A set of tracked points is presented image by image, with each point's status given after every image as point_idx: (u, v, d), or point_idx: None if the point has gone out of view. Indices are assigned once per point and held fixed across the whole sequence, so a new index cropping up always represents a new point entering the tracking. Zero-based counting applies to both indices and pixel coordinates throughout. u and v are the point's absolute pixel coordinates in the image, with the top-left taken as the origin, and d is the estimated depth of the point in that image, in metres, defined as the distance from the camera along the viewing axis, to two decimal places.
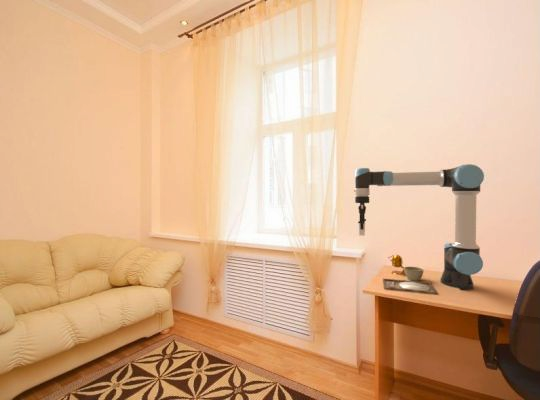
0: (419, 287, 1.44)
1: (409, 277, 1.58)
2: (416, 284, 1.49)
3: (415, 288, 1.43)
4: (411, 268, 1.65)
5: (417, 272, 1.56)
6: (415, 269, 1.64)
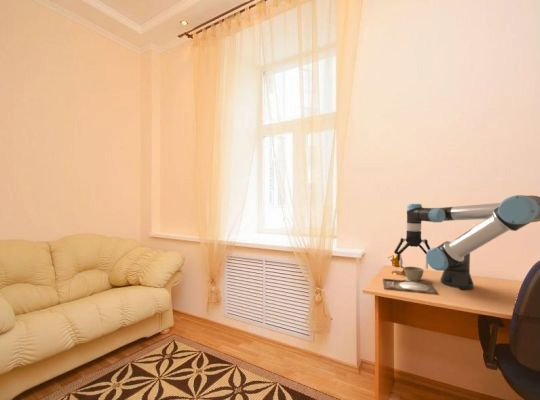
0: (419, 287, 1.44)
1: (409, 277, 1.58)
2: (416, 284, 1.49)
3: (415, 288, 1.43)
4: (411, 268, 1.65)
5: (417, 272, 1.56)
6: (415, 269, 1.64)
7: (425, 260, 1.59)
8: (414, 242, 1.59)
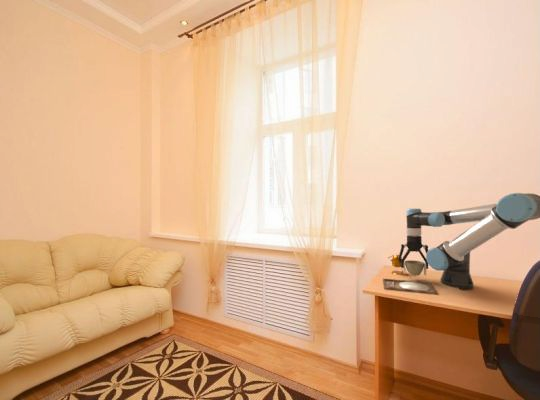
0: (419, 287, 1.44)
1: (410, 270, 1.58)
2: (416, 284, 1.49)
3: (415, 288, 1.43)
4: (412, 262, 1.64)
5: (417, 265, 1.55)
6: (416, 263, 1.64)
7: None
8: (415, 247, 1.59)
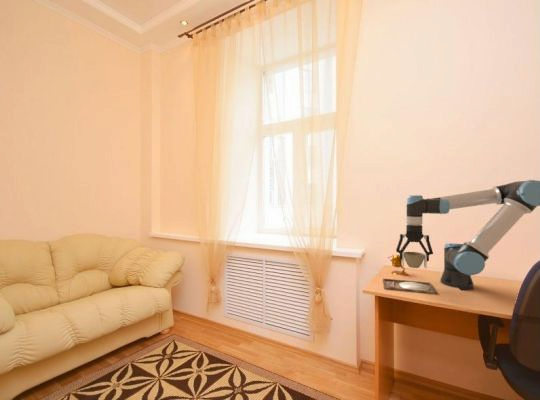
0: (419, 287, 1.44)
1: (409, 262, 1.45)
2: (416, 284, 1.49)
3: (415, 288, 1.43)
4: (411, 253, 1.51)
5: (417, 257, 1.42)
6: (415, 255, 1.50)
7: (424, 259, 1.46)
8: (415, 237, 1.45)
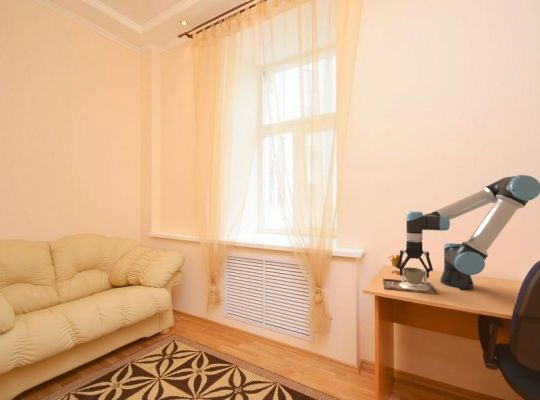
0: (419, 287, 1.44)
1: (409, 279, 1.45)
2: None
3: (415, 288, 1.43)
4: (411, 269, 1.51)
5: (417, 274, 1.42)
6: (415, 271, 1.51)
7: (424, 275, 1.46)
8: (415, 254, 1.46)
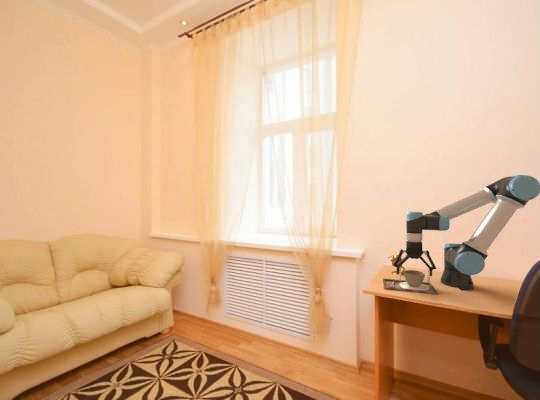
0: (419, 287, 1.44)
1: (410, 281, 1.45)
2: None
3: (415, 288, 1.43)
4: (411, 272, 1.51)
5: (417, 276, 1.42)
6: (416, 273, 1.51)
7: (427, 273, 1.46)
8: (415, 254, 1.46)
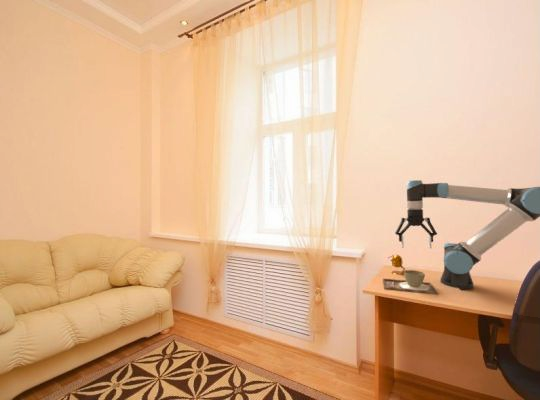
0: (419, 287, 1.44)
1: (409, 281, 1.45)
2: None
3: (415, 288, 1.43)
4: (411, 272, 1.51)
5: (417, 276, 1.42)
6: (416, 273, 1.51)
7: (428, 240, 1.50)
8: (416, 221, 1.50)
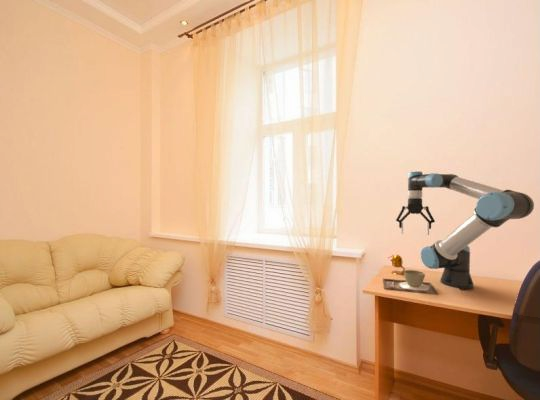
0: (419, 287, 1.44)
1: (409, 281, 1.45)
2: None
3: (415, 288, 1.43)
4: (411, 272, 1.51)
5: (417, 276, 1.42)
6: (416, 273, 1.51)
7: None
8: (415, 209, 1.62)
